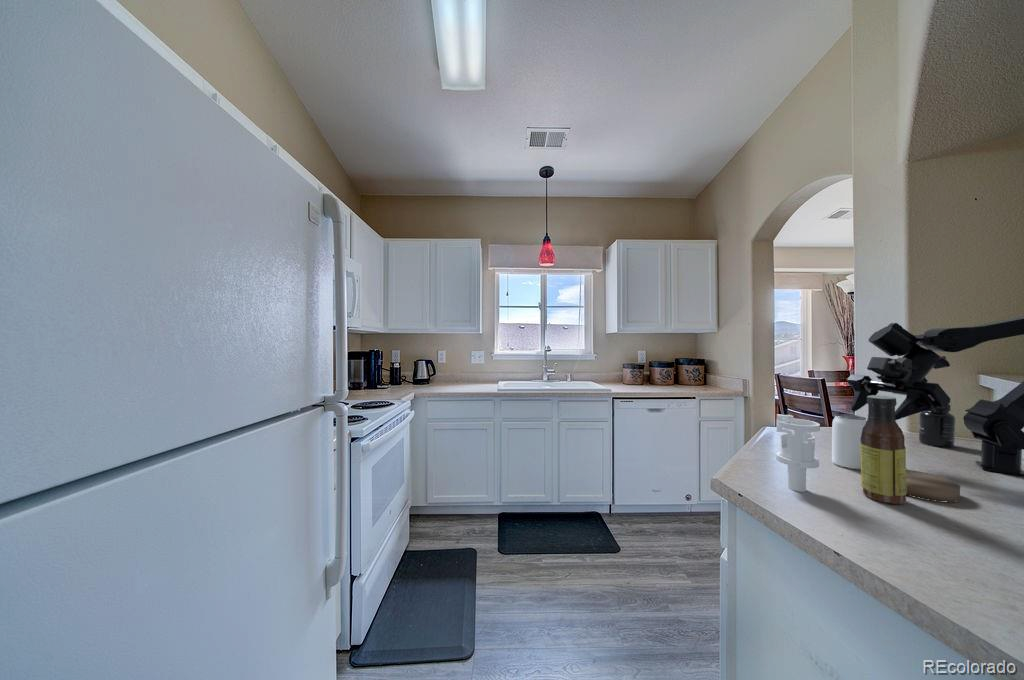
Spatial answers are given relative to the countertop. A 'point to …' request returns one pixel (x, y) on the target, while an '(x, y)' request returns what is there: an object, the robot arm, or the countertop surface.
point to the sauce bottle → (883, 453)
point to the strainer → (797, 449)
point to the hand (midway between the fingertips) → (872, 414)
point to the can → (847, 440)
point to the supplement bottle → (937, 427)
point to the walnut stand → (931, 487)
